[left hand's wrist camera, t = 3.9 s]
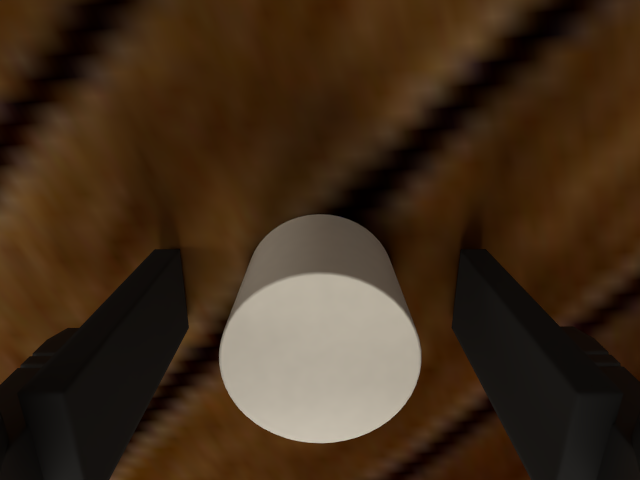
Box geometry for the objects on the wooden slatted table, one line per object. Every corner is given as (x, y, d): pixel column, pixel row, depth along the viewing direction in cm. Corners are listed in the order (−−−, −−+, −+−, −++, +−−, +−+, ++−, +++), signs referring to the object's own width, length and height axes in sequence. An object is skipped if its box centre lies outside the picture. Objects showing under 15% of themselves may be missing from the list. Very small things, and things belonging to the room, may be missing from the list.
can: (322, 369, 15) (323, 473, 11) (217, 285, 14) (176, 367, 10) (423, 281, 14) (464, 362, 10) (317, 182, 13) (317, 229, 9)
